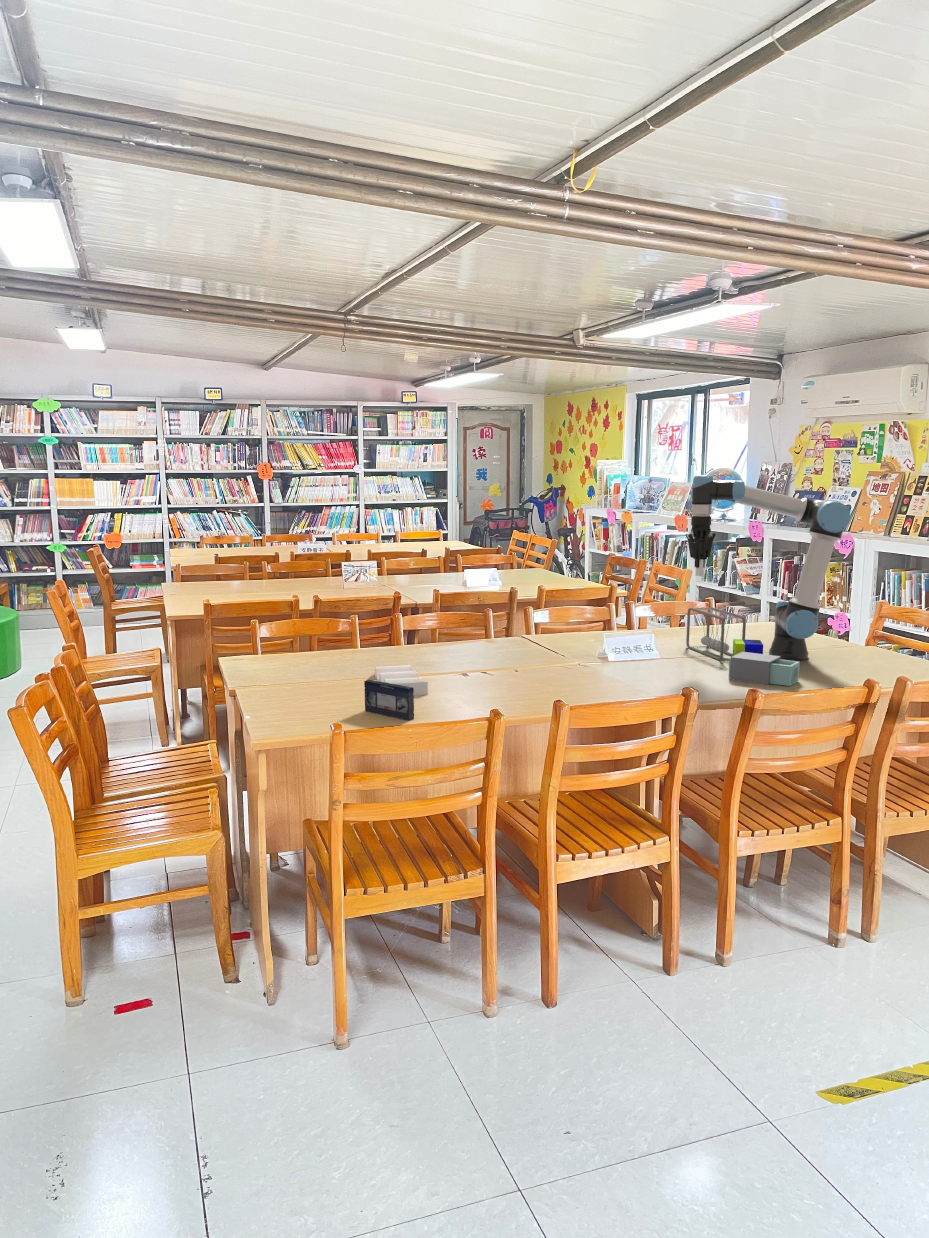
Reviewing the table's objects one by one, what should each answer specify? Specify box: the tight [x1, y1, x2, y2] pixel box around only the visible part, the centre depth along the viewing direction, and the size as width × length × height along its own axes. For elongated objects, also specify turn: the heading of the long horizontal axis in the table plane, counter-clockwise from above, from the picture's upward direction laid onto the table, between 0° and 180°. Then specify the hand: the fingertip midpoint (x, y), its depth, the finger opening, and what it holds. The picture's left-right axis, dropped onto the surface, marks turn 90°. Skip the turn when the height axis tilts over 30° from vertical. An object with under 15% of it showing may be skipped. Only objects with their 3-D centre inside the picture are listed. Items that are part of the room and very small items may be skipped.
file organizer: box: [373, 664, 429, 697], centre depth 311 cm, size 13×35×5 cm, turn 14°
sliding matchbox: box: [728, 657, 801, 687], centre depth 317 cm, size 22×10×7 cm, turn 53°
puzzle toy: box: [732, 638, 764, 656], centre depth 338 cm, size 10×10×10 cm
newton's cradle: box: [686, 606, 747, 661], centre depth 363 cm, size 30×10×18 cm, turn 13°
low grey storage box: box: [729, 652, 782, 686], centre depth 319 cm, size 14×12×8 cm
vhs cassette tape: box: [363, 679, 415, 721], centre depth 270 cm, size 18×3×10 cm, turn 52°
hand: (699, 575), depth 345 cm, fingers closed
